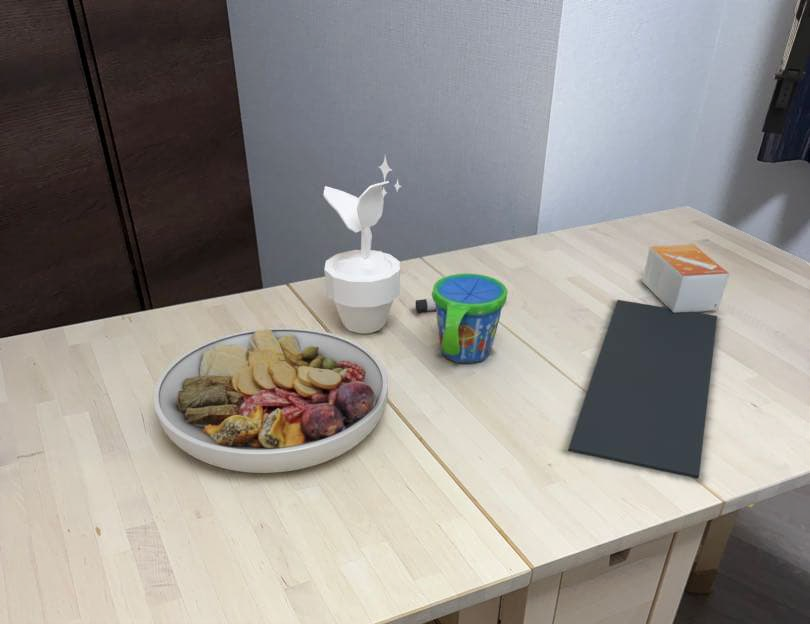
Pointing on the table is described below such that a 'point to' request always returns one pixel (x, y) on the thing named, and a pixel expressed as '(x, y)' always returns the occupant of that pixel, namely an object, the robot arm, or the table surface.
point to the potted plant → (362, 262)
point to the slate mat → (649, 390)
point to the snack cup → (468, 315)
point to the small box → (684, 278)
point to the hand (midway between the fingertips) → (771, 131)
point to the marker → (425, 305)
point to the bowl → (271, 399)
